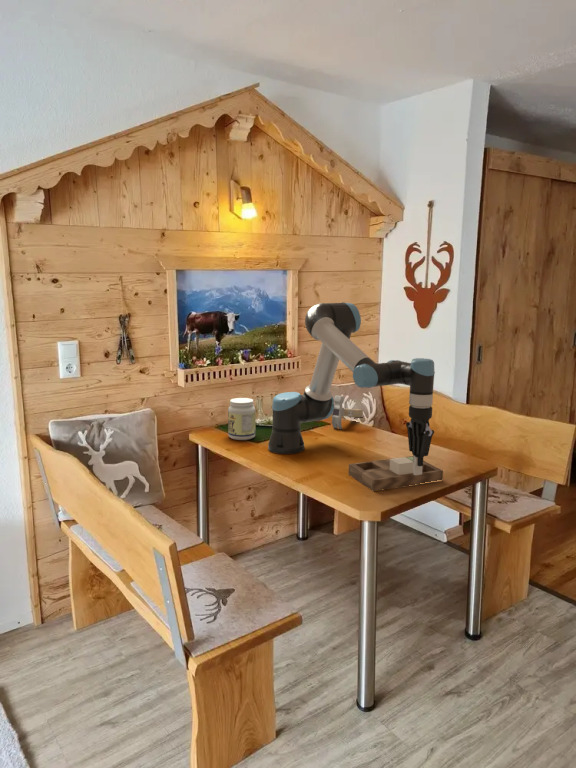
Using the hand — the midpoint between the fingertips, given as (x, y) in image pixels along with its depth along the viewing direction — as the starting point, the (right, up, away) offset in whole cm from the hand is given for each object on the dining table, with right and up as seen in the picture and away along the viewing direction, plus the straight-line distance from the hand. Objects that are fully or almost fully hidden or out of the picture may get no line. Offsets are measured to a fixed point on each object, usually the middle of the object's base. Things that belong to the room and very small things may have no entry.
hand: (417, 474), depth 192 cm
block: (-4, 0, +8) cm, 9 cm away
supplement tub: (-64, +6, +64) cm, 91 cm away
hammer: (-14, +11, +89) cm, 91 cm away
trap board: (-5, -3, +14) cm, 15 cm away
